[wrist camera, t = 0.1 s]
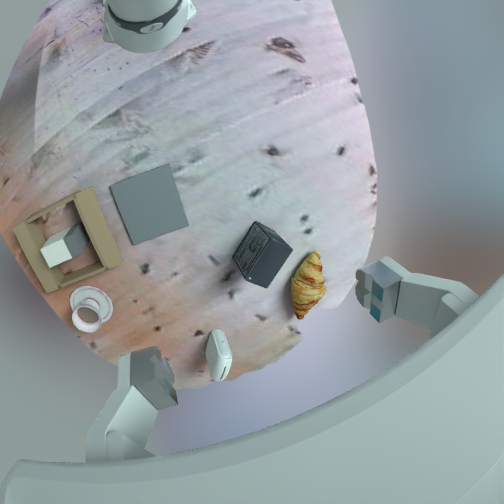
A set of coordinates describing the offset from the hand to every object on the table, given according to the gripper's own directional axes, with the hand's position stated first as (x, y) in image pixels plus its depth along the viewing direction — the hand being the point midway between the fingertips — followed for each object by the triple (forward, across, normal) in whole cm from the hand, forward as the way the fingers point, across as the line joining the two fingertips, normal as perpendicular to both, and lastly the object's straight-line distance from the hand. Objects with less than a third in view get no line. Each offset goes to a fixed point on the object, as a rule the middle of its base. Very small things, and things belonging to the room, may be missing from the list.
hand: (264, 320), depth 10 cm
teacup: (+49, +34, +25) cm, 65 cm away
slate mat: (+49, +10, +7) cm, 50 cm away
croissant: (+49, -23, +41) cm, 68 cm away
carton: (+49, +30, +7) cm, 58 cm away
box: (+49, +30, +7) cm, 58 cm away
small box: (+49, -10, +24) cm, 56 cm away
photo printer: (+49, +8, +50) cm, 71 cm away
